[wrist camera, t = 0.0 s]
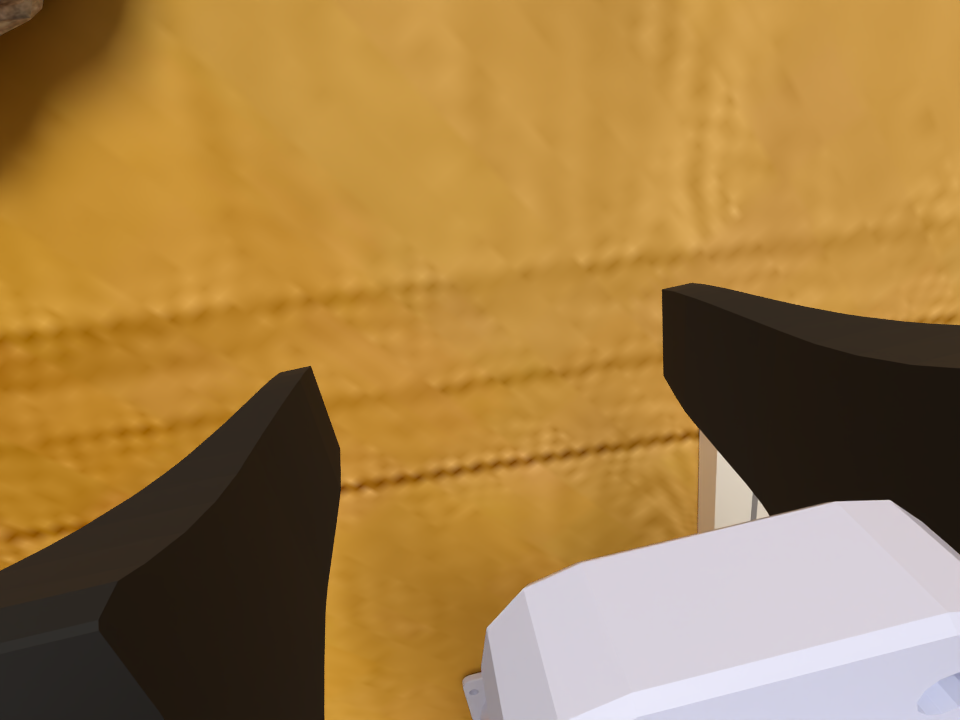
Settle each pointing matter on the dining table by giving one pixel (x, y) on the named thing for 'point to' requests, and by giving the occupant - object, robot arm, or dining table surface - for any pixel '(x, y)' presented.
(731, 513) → the board
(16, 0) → the grey brown rock
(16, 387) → the dining table surface
